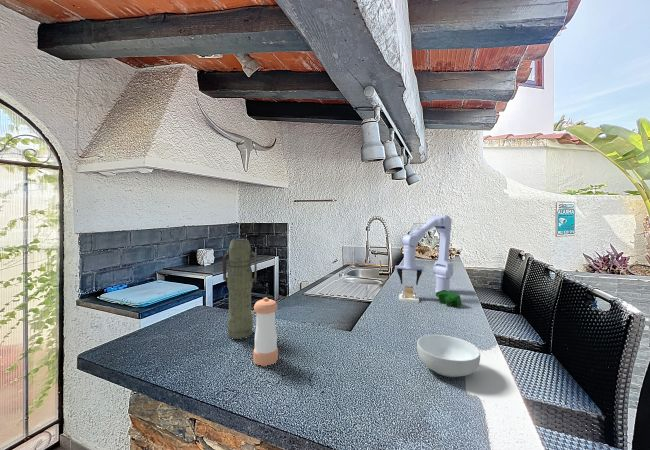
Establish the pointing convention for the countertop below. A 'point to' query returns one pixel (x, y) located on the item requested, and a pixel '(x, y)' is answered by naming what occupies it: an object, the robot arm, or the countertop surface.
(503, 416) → the countertop surface
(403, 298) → the plate
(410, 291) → the block
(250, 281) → the thermos
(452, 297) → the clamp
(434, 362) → the cereal bowl
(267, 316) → the pepper shaker
